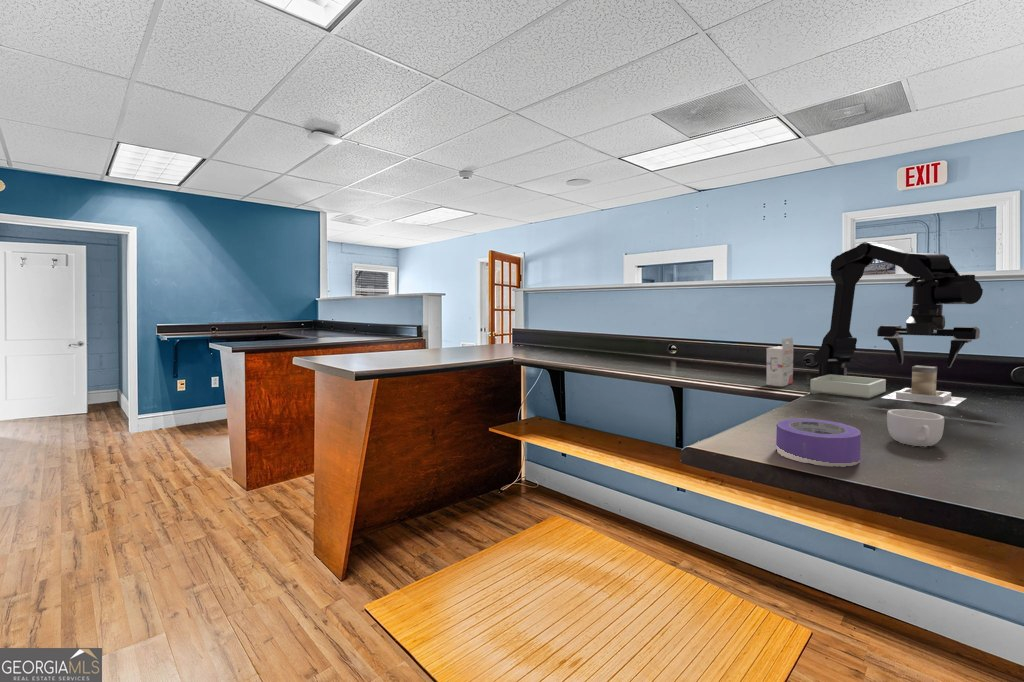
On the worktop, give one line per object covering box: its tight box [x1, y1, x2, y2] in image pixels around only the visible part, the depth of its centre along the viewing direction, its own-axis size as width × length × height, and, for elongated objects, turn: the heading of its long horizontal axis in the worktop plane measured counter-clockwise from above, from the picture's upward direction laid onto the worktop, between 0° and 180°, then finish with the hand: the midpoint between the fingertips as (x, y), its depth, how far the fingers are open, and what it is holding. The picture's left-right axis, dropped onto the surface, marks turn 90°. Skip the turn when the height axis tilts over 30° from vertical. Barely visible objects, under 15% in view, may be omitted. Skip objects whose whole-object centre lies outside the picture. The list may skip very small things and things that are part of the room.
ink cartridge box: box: [765, 336, 794, 388], centre depth 145 cm, size 9×5×15 cm, turn 129°
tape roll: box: [775, 418, 862, 463], centre depth 77 cm, size 12×12×5 cm
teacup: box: [886, 408, 945, 447], centre depth 82 cm, size 10×8×5 cm
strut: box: [911, 365, 938, 396], centre depth 118 cm, size 4×4×8 cm
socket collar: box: [880, 387, 967, 407], centre depth 118 cm, size 14×14×2 cm
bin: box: [809, 374, 887, 399], centre depth 129 cm, size 14×14×4 cm
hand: (924, 365), depth 118 cm, fingers open, 9 cm apart
